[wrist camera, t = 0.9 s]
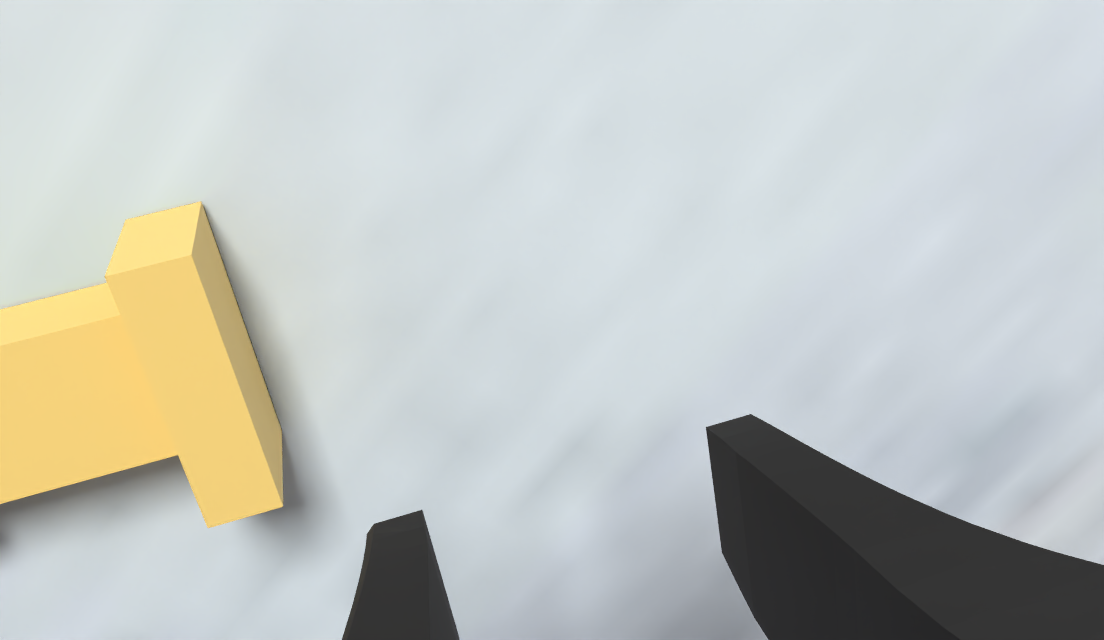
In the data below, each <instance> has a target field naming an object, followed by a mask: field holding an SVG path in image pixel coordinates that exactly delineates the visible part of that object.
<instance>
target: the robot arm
mask: <svg viewBox="0 0 1104 640" xmlns="http://www.w3.org/2000/svg"><path fill="white" fill-rule="evenodd" d="M706 431H707V439H708V447H709V454H710V462H711V470H712V478H713V485H714V493H715V501H716V509H717V517H718V524H719V532H720V540H721V548H722V553H723V555H724V557H725V559H726V561H727V563H728V566H729V568H730V570H731V572H732V574H733V576H734V578H735V580H736V582H737V584H738V586H739V588H740V590H741V592H742V594H743V596H744V598H745V600H746V602H747V604H748V606H749V608H750V610H751V612H752V614H753V616H754V618H755V619H756V621H757V622H758V624H759V625H760V627H761V628H762V630H763V632H764V633H765V635H766V636H767V638H768V639H769V640H1104V565H1101V564H1097V563H1094V562H1090V561H1086V560H1083V559H1079V558H1075V557H1072V556H1068V555H1064V554H1060V553H1057V552H1054V551H1050V550H1047V549H1044V548H1041V547H1037V546H1034V545H1031V544H1028V543H1025V542H1022V541H1019V540H1016V539H1013V538H1010V537H1007V536H1005V535H1002V534H999V533H996V532H993V531H991V530H988V529H985V528H982V527H979V526H976V525H974V524H971V523H968V522H966V521H963V520H961V519H958V518H956V517H953V516H951V515H948V514H946V513H944V512H941V511H939V510H937V509H935V508H932V507H930V506H928V505H925V504H923V503H921V502H919V501H916V500H914V499H912V498H910V497H907V496H905V495H903V494H901V493H899V492H897V491H894V490H892V489H890V488H888V487H886V486H884V485H882V484H880V483H878V482H876V481H874V480H872V479H870V478H868V477H866V476H864V475H862V474H860V473H858V472H856V471H854V470H852V469H850V468H848V467H846V466H844V465H843V464H841V463H839V462H837V461H835V460H833V459H831V458H829V457H828V456H826V455H824V454H822V453H820V452H818V451H817V450H815V449H813V448H811V447H809V446H808V445H806V444H804V443H802V442H800V441H799V440H797V439H795V438H793V437H791V436H790V435H788V434H786V433H784V432H783V431H781V430H779V429H777V428H775V427H774V426H772V425H770V424H768V423H766V422H765V421H763V420H761V419H759V418H757V417H755V416H753V415H751V414H750V415H746V416H743V417H740V418H736V419H733V420H729V421H726V422H722V423H719V424H716V425H712V426H709V427H706ZM342 640H459V636H458V632H457V628H456V625H455V622H454V618H453V615H452V611H451V608H450V604H449V601H448V597H447V594H446V590H445V587H444V583H443V580H442V577H441V573H440V570H439V566H438V563H437V559H436V556H435V552H434V549H433V545H432V542H431V539H430V535H429V532H428V528H427V525H426V521H425V518H424V514H423V511H422V510H420V511H417V512H413V513H410V514H406V515H403V516H400V517H396V518H393V519H389V520H386V521H382V522H379V523H376V524H374V525H373V526H372V527H371V529H370V530H369V532H368V533H367V539H366V548H365V554H364V560H363V565H362V569H361V574H360V578H359V582H358V586H357V590H356V594H355V598H354V602H353V605H352V609H351V612H350V615H349V618H348V621H347V625H346V628H345V631H344V634H343V638H342Z"/></svg>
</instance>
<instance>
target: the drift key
mask: <svg viewBox="0 0 1104 640" xmlns="http://www.w3.org/2000/svg"><path fill="white" fill-rule="evenodd" d="M105 279H106V281H107V283H104V284H100V285H96V286H92V287H88V288H84V289H80V290H76V291H72V292H68V293H64V294H60V295H56V296H52V297H48V298H44V299H40V300H36V301H32V302H28V303H24V304H20V305H16V306H12V307H8V308H4V309H0V504H2V503H5V502H9V501H13V500H16V499H20V498H24V497H27V496H31V495H35V494H38V493H42V492H45V491H49V490H53V489H56V488H60V487H64V486H67V485H71V484H75V483H78V482H82V481H85V480H89V479H93V478H96V477H100V476H104V475H107V474H111V473H114V472H118V471H122V470H125V469H129V468H133V467H136V466H140V465H144V464H147V463H151V462H154V461H158V460H162V459H165V458H169V457H173V456H176V455H178V456H179V459H180V461H181V464H182V466H183V469H184V471H185V474H186V476H187V478H188V481H189V483H190V486H191V488H192V491H193V493H194V495H195V498H196V500H197V503H198V505H199V508H200V510H201V512H202V515H203V517H204V520H205V522H206V525H207V527H208V528H210V527H214V526H217V525H221V524H224V523H228V522H231V521H235V520H238V519H242V518H245V517H249V516H252V515H256V514H259V513H263V512H266V511H270V510H273V509H277V508H280V507H283V469H282V430H281V427H280V424H279V421H278V418H277V416H276V413H275V410H274V407H273V404H272V401H271V399H270V396H269V393H268V390H267V387H266V384H265V381H264V379H263V376H262V373H261V370H260V367H259V364H258V361H257V359H256V356H255V353H254V350H253V347H252V344H251V342H250V339H249V336H248V333H247V330H246V327H245V324H244V322H243V319H242V316H241V313H240V310H239V307H238V304H237V302H236V299H235V296H234V293H233V290H232V287H231V285H230V282H229V279H228V276H227V273H226V270H225V267H224V265H223V262H222V259H221V256H220V253H219V250H218V247H217V245H216V242H215V239H214V236H213V233H212V230H211V228H210V225H209V222H208V219H207V216H206V213H205V210H204V208H203V205H202V202H197V203H193V204H189V205H184V206H180V207H176V208H172V209H168V210H164V211H160V212H156V213H152V214H147V215H143V216H139V217H135V218H131V219H127V220H125V223H124V226H123V228H122V231H121V234H120V236H119V239H118V242H117V245H116V247H115V250H114V253H113V255H112V258H111V261H110V263H109V266H108V269H107V272H106V274H105Z"/></svg>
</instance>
